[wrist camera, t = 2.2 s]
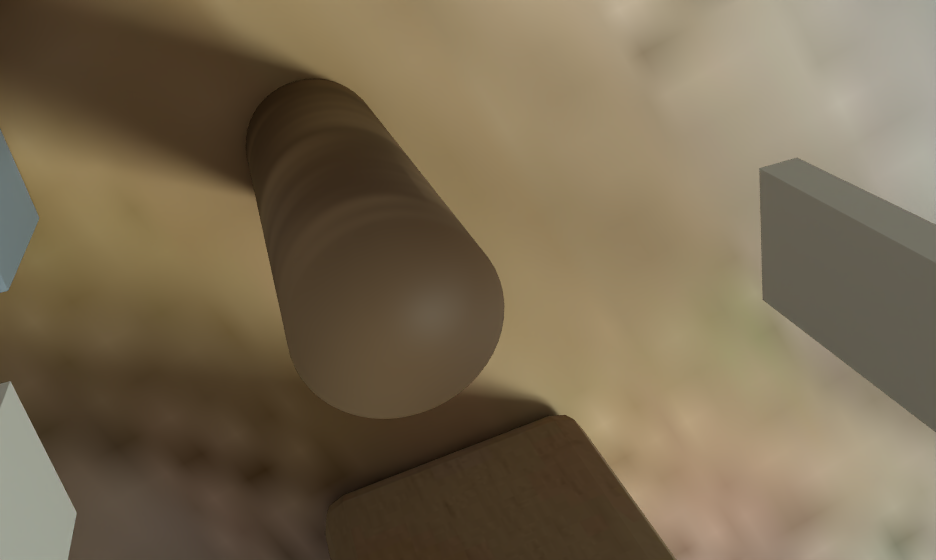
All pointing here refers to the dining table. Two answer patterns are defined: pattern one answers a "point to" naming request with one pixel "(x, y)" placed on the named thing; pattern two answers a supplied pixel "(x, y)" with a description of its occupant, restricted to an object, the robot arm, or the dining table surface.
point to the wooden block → (499, 505)
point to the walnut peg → (366, 258)
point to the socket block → (13, 217)
